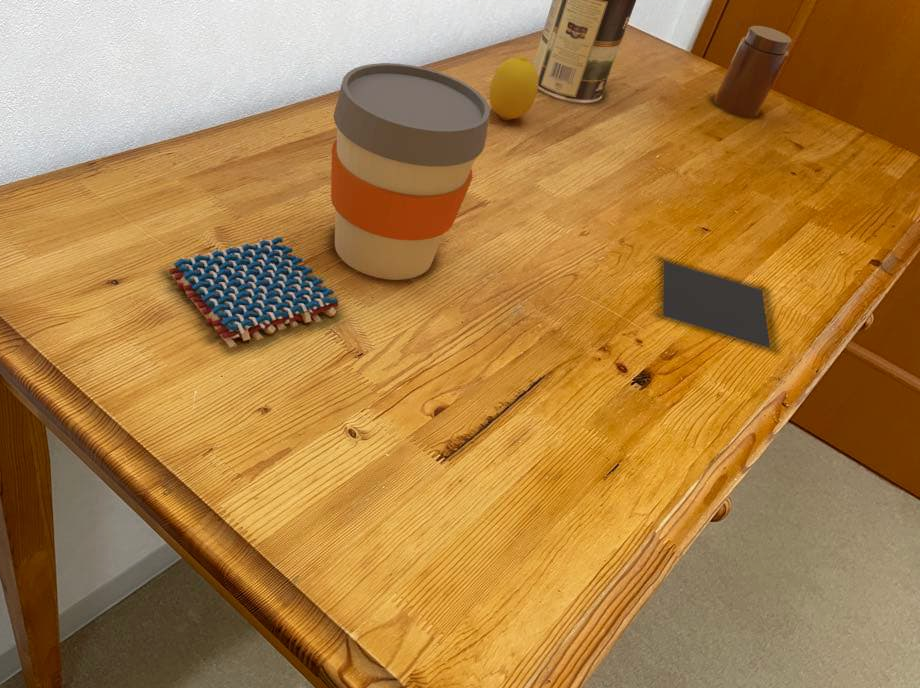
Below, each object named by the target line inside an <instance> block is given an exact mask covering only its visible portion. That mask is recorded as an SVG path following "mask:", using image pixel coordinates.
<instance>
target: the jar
mask: <svg viewBox="0 0 920 688" xmlns="http://www.w3.org/2000/svg"><path fill="white" fill-rule="evenodd" d="M747 30H748V32H747V33H746V36H743V37H742V38H741V39H740V41H739V44H738V46H737V48H736V50H735V53H734V55H733V57H732V59H731V61H730V64H729V66H728V67H727V70H726V72H725V75H724V76H723V78H722V81H721V83H720V86H719V87H718V89H717V92H716V94H715V96H714V98H713V103H714V104H715V106H717V107H718V108H720V109H721V110H722V111H725V112H726V113H729V114H731V115H735V116H738V117H741V118H750V119H751V118H756V117H757V116H759V114H760V112H761V110H762V108H763V105H764V104H765V102H766V100H767V98H768V96H769V94H770V92H771V90H772V88H773V86H774V84H775V82H776V80H777V78H778V76H779V73H780V72H781V70H782V68H783V66H784V64H785V62H786V60H787V58H788V56H789V51H788V49H790V47H791V43H792V38H791V37H790V36H789V35H787V34H786V33H784V32H782V31H781V30H780V31H779V30H778V29H775V28H771V27H768V26H763V25H752V26H750V27H748V29H747Z"/></svg>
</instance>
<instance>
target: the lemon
mask: <svg viewBox="0 0 920 688" xmlns="http://www.w3.org/2000/svg"><path fill="white" fill-rule="evenodd" d="M538 90H539V89H538V73H537V70H536V68H535V67H534V63H532V61H530V60H528V57H527V56H525V55H519V56H516V57H515V56H514V57H511V58H509V59H507V60H505V61H503V62H502V63H501V64H500V66H499V67H498V68H497V70H496V71H495V73H494V75H493V77H492V80H491V82H490V87H489V102H490V106H491V108H492V111H494V112H495V114H497V115H499V117H500V119H502V120H503V121H510V120H515V119H519V118H521V117H523V116H524V115H525V114H527V112H529V111H530V109H531V108H532V107H533V105H534V102H535V100H536V98H537V93H538Z"/></svg>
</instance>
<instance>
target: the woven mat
mask: <svg viewBox="0 0 920 688" xmlns="http://www.w3.org/2000/svg"><path fill="white" fill-rule="evenodd" d="M283 241H284V239H283V238H282V237H280V236H279V237H275V238H274V239H268V240H265V239H263V238H260V239H259V242H252V244H248V243H246V242H242V245H243V246H241V245H240V246H239V245H238V246H235V248H234V247H232V246H229V247H228V248H227V249H226V250H225V249H219V250H217V249H216V248H215V249H212V253H211V252H207V253H205V255H201V254H199V253H195V257H194V256H191V257H190V256H189V257H187V258H186V259H185V257H181V258H180V259H178V260H177V261H175V262H174V263H173V266H174V268H173V267H172V268H170V269H169V274H170V275H171V276H172V278H173V279H174V282H176V287H177V288H178V289H181V290H183V291H185V292H184V293H185V295H186V296H187V298H188V299H189V300H191V302H192V303H193V304H194V305H195V307H196V308H197V309H198V310H199V312H200V313H201V314H202V316H204V317H205V319H206V320H205V322H206V323H207V324H208V325H210V326H213V329H214V330H215V332H216V333H217V334H218V335H219V336H220V338H221V339H222V340H223V341H224V342H225V343H226V345H227V346H228V347H229V349H232V348H236V347H238V345H237V343H236V341H235V340H234V339H237V338H238V339H240V340H242V341H243V342H245V341H248V340H251V336H252V337H253V338H254V339H255V340H256V341H260V340H262V339H264V336H263V335H262V333H261V332H260V330H262V331H263V332H264V333H266V334H269V335H272V334H273V333H274V332H275V331H276V330H278V331H279V332H280V331H283V330H286V329H287V326H286V325H287V324H288V325H289V326H290V327H291V328H293V327H294V328H295V327H298V326H299V323H298V322H297V321H299V322H302V323H303V322H304V323H303V324H307V323H310V322H312V319H313V320H314V321H315V322H316V323H320V322H323V319H322V318H321V317H320V316H319V313H323V314H324V315H326V316H328V317H330V318H332V317H333V316H334V315H335V314H336V313H337V311H336V309H335V308H337V307H338V306H339V300H338V298H337V297H333V298H332V297H329V296H331V295H333V294H334V293H335V291H334V290H333V289H332V288H330V289H328V288H327V287H326V286H322V285H323V283H324V280H323V279H322V277H321V278H317V277H316V275H313V276H311V275H309V274H312V273H313V272H314V269H313V268H312V267H306V265H299V263H300V264H301V263H302V262H303V261H304V259H303V258H302V257H297V256H296V255H292V254H291V253H293V251H294V249H293V247H287V246H286V245H285V244H284V245H279V243H283ZM297 264H298V265H297Z"/></svg>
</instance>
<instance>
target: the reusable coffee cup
mask: <svg viewBox="0 0 920 688" xmlns="http://www.w3.org/2000/svg"><path fill="white" fill-rule="evenodd" d="M490 116H491V109H490V105H489V103H488V101H487V99H485V97H484V96H483V95H482V94H481V93H480V92H478V91H477V90H476V89H475V88H473V86H470V85H469V84H467V83H465V82H464V81H462V80H460V79H458V78H456V77H454V76H451V75H448V74H445V73H443V72H440V71H437V70H433V69H430V68H426V67H421V66H416V65H411V64H403V63H391V62H390V63H389V62H382V63H370V64H364V65H360V66H358V67H355V68H352V69H351V70H350V71H348V72H347V73H346V74H345V75H344V76H343V78H342V81H341V84H340V89H339V92H338V97H337V101H336V104H335V108H334V113H333V120H334V124H335V126H336V139H335V140H334V142H333V143H332V147H331V163H330V164H331V167H330V168H331V169H330V171H331V172H330V199H331V204H332V206H333V208H334V209H335V210H334V211H335V212H334V213H335V215H334V249H335V251H336V253H337V255H338V256H339V258H340V259H341V260H342V261H343V262H344V263H345V264H346V265H348V266H349V267H351V268H352V269H354V270H356V271H357V272H359V273H362V274H364V275H367V276H370V277H374V278H378V279H384V280H391V281H394V280H395V281H398V280H399V281H400V280H401V281H403V280H409V279H413V278H416V277H419V276H422V275H423V274H424V273H426V272H427V271H428V270H429V269H430V268H431V266H432V263H433V262H434V258H435V256H436V254H437V252H438V249H439V246H440V245H441V241H442V240H443V238H444V234H445V233H447V232H448V231H450V230H451V228H452V227H453V225H454V223H455V221H456V218H457V216H458V214H459V211H460V209H461V206H462V204H463V202H464V200H465V197H466V195H467V192H468V191H469V188H470V185H471V183H472V181H473V170H472V168H473V166H474V163H475V160H476V158H478V157H479V156H480V155H481V154H482V153H483V151H484V149H485V147H486V142H487V141H486V140H487V135H488V128H489V122H490Z"/></svg>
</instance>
